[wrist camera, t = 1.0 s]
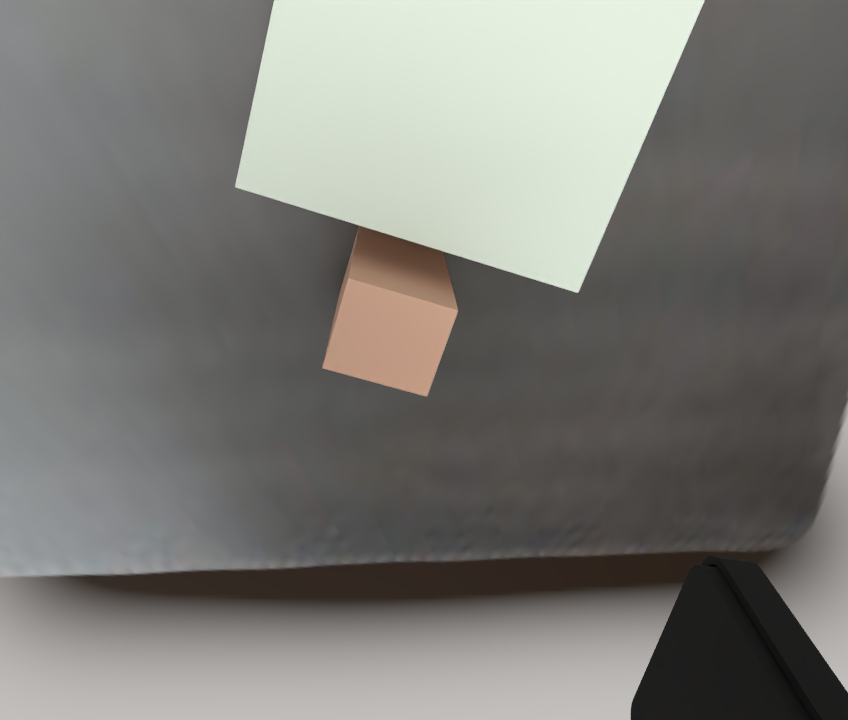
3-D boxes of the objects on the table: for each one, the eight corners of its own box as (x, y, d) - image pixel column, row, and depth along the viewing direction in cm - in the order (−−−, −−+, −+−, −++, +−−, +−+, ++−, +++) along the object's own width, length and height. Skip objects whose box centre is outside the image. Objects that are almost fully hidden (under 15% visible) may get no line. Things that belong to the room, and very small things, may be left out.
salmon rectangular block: (418, 314, 37) (427, 396, 28) (340, 291, 37) (322, 368, 28) (442, 246, 36) (458, 310, 27) (360, 221, 35) (348, 278, 26)
